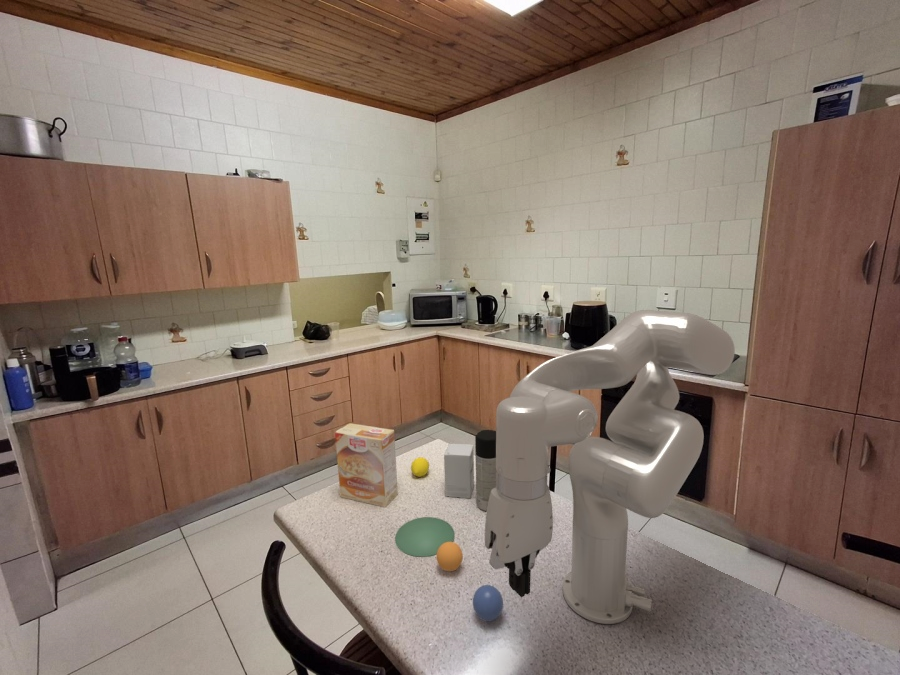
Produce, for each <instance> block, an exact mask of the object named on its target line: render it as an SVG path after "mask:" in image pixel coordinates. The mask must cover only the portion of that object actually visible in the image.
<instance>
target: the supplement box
mask: <svg viewBox="0 0 900 675" xmlns="http://www.w3.org/2000/svg"><path fill="white" fill-rule="evenodd" d="M474 455H475V454H474V444H466V443H448V445H447V448H446V449H445V452H444V454H443V461H444V462H443V466H444V469H443V470H444V496H445V497H447V496H449V498H457V497H461V498H460V499H471V498H472V492H473V489H474V486H475V460H474V458H475V456H474Z"/></svg>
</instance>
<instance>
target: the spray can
mask: <svg viewBox="0 0 900 675" xmlns="http://www.w3.org/2000/svg"><path fill="white" fill-rule="evenodd" d="M474 437H475V440H474V441H475V442H474V443H475V444H474V445H475V447H474V448H475V449H474V450H475V454H474V455H475V456H474V458H475V488H476V489H475V496H476V497H475V498H476V501H475V502H476V506H477V508H478V509H479V510H481V511H484V512H487V507H488V501H489V497H490V493H491V490H492V489H494V488H496V430H493V429H483V430H482V429H481V431H478V432H477V433H476V434H475V436H474Z"/></svg>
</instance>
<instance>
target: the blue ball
mask: <svg viewBox="0 0 900 675" xmlns="http://www.w3.org/2000/svg"><path fill="white" fill-rule="evenodd" d="M472 607H473V610H474V612H475V614H476V616H477V617H479V619H481V620H482V621H486V622H491V621H495V620H497V619H498V618H499V617H500V616H501V614H502V612H503V609H504V608H503V607H504V600H503V596H502V594H501V592H500V590H499V589H498V588H497V587H495V586H494V585H490V584H485V585H480V587H478V588H477V590H476V591H475V592H474V595H473V597H472Z"/></svg>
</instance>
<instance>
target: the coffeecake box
mask: <svg viewBox="0 0 900 675" xmlns="http://www.w3.org/2000/svg"><path fill="white" fill-rule="evenodd" d="M334 437H335V438H334V439H335V448H336V457H337V458H336V459H337V460H336V462H337V472H338V474H337V475H338V483H339V485H338V486H339V494H340V496H339V497H340V498H343V499H347V500H352V501H357V502H360V503H361V502H362V503H365V504H371V505H374V506H377V507H382V508H386V507H387V506H389V504H390V503H391V502H392V501H393V500H394V499H395V498H396V497H397V496H398V494H399V492H398V491H399V490H398V474H397V473H398V472H397V456H396V437H395V430H394V429H389V428H383V427H376V426H370V425H366V424H358V423H357V424H356V423H351V422H349V423H347V424H345V425H344V426H342V427H341V428H338V429H337V430H336V431H334Z"/></svg>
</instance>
